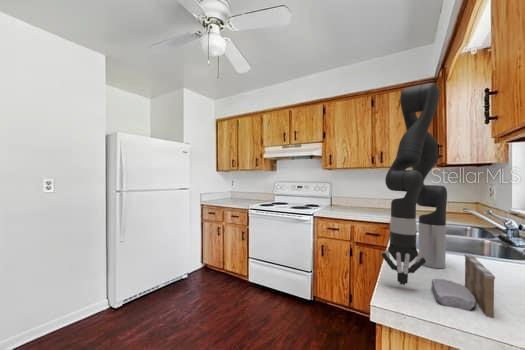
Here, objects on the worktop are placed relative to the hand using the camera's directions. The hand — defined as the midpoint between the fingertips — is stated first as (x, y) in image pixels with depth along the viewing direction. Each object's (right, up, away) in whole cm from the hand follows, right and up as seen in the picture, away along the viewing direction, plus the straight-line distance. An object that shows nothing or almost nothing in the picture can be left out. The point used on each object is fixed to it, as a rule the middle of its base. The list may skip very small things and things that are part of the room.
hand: (402, 283), depth 78 cm
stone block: (+12, -2, -7) cm, 13 cm away
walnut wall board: (+19, -2, -7) cm, 20 cm away
